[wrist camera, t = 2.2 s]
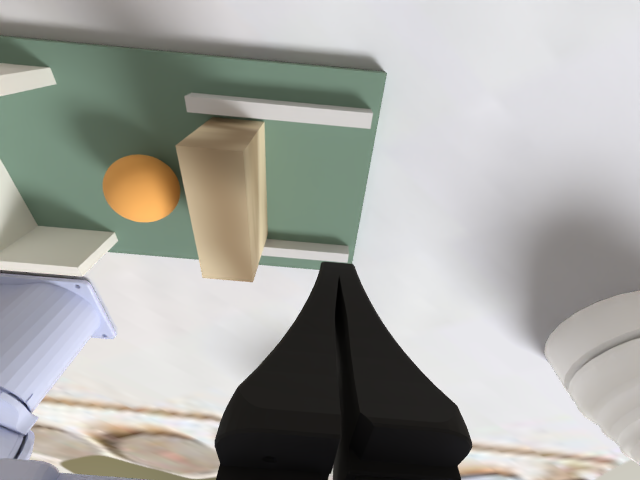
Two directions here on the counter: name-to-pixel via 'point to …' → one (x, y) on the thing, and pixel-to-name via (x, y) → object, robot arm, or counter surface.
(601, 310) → the honey pot
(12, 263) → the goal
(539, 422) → the counter surface
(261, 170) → the block
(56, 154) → the pitch mat
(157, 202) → the ball
